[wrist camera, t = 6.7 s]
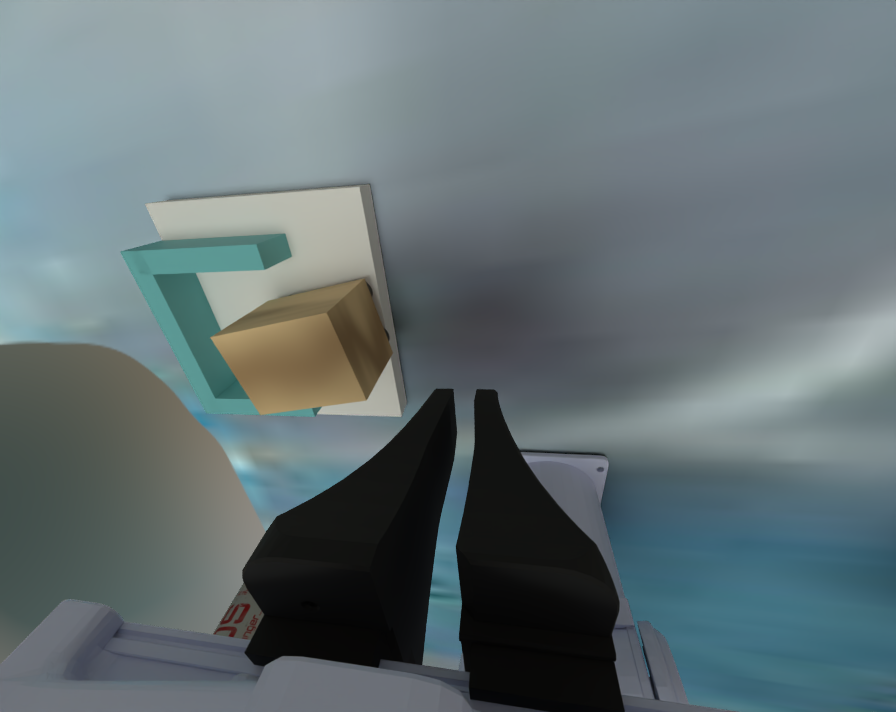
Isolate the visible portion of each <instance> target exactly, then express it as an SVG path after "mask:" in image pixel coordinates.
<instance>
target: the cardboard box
mask: <svg viewBox="0 0 896 712" xmlns="http://www.w3.org/2000/svg"><path fill="white" fill-rule="evenodd" d="M372 296H373V291H372V288H371V286H370V285H369V284H368V283H367V282H366V281H365V278H364V279H359V280H354V281H351V282H346V283H342V284H338V285H334V286H329V287H325V288H321V289H316V290H312V291H308V292H304V293H299V294H295V295H289V296H286V297H282V298H278V299H274V300H269V301H267V302H265V303H264V304H262V305H261V306H259V307H257V308H256V309H254V310H253V311H251V312H250V313H248V314H246V315H245V316H243V317H242V318H240V319H238V320H237V321H235V322H234V323H232V324H231V325H229V326H227V327H226V328H224V329H223V330H221V331H220V332H218V333H216V334H215V335H213V336H212V337H210V338H211V340H212V341H213V343H214V344H215V346H216V347H217V349H218V350H219V352H220V353H221V355H222V357H223V358H224V360H225V361H226V363H227V364H228V366H229V367H230V369H231V371H232V372H233V374H234V375H235V377H236V378H237V380H238V381H239V383H240V384H241V386H242V388H243V389H244V391H245V392H246V394H247V395H248V397H249V398H250V400H251V401H252V403H253V405H254V406H255V408H256V409H257V411H258V412H259V414H260V415H265V414H272V413H280V412H287V411H294V410H301V409H309V408H316V407H323V406H331V405H338V404H345V403H352V402H360V401H367V399H368V397H369V395H370V394H371V392H372V390H373V388H374V386H375V385H376V383H377V381H378V379H379V377H380V376H381V374H382V372H383V370H384V368H385V367H386V365H387V363H388V361H389V359H390V358H391V356H392V354H393V351H392V349H391V346H390V343H389V339H390V336H389V333H388V332H387V330H386V329H385V328H383V325H382V323H381V320H380V317H379V315H378V312H377V309H376V307H375V304H374V302H373V299H372Z"/></svg>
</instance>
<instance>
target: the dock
mask: <svg viewBox="0 0 896 712" xmlns="http://www.w3.org/2000/svg"><path fill="white" fill-rule="evenodd" d="M145 205H146V207H147V209H148V211H149V213H150V215H151V218H152V220H153V222H154V224H155V226H156V228H157V230H158V233H159V235H160V237H161V239H162V241H159V242H155V243H151V244H147V245H144V246H140V247H136V248H132V249H128V250H125V251H121V254H122V256H123V258H124V260H125V262H126V264H127V266H128V267H129V269H130V271H131V273H132V275H133V277H134V279H135V281H136V282H137V284H138V286H139V288H140V290H141V292H142V294H143V296H144V297H145V299H146V301H147V303H148V305H149V307H150V309H151V311H152V312H153V314H154V316H155V318H156V320H157V322H158V324H159V326H160V327H161V329H162V331H163V333H164V335H165V337H166V339H167V341H168V342H169V344H170V346H171V348H172V350H173V352H174V354H175V356H176V357H177V359H178V361H179V363H180V365H181V367H182V369H183V371H184V372H185V374H186V376H187V378H188V380H189V382H190V384H191V386H192V387H193V389H194V391H195V393H196V395H197V397H198V399H199V401H200V402H201V404H202V406H203V408H204V410H205V412H206V413H215V414H246V415H260V414H259V412H258V411H257V409H256V408H255V406H254V405H253V403H252V401H251V400H250V398H249V397H248V395H247V394H246V392H245V391H244V389H243V388H242V386H241V384H240V383H239V381H238V380H237V378H236V377H235V375H234V374H233V372H232V371H231V369H230V367H229V366H228V364H227V363H226V361H225V360H224V358H223V357H222V355H221V353H220V352H219V350H218V349H217V347H216V346H215V344H214V343H213V341H212V340H211V338H210V337H212V336H213V335H215V334H216V333H218V332H220V331H221V330H223V329H224V328H226V327H227V326H229V325H231V324H232V323H234V322H235V321H237V320H238V319H240V318H242V317H243V316H245V315H246V314H248V313H250V312H251V311H253V310H254V309H256V308H257V307H259V306H261V305H262V304H264V303H265V302H267V301H269V300H274V299H278V298H282V297H286V296H289V295H295V294H299V293H304V292H308V291H312V290H316V289H321V288H325V287H329V286H334V285H338V284H342V283H346V282H351V281H354V280H359V279H364V278H365V281H366V282H367V283H368V284H369V285H370V286H371V288H372V291H373V296H372V299H373V302H374V304H375V307H376V309H377V312H378V315H379V317H380V320H381V323H382V325H383V328H385V329H386V330H387V332H388V333H389V336H390V339H389V343H390V346H391V349H392V351H393V354H392V356H391V358H390V359H389V361H388V363H387V365H386V367H385V368H384V370H383V372H382V374H381V376H380V377H379V379H378V381H377V383H376V385H375V386H374V388H373V390H372V392H371V394H370V395H369V397H368V399H367V401H360V402H352V403H345V404H338V405H331V406H323V407H316V408H309V409H301V410H294V411H287V412H280V413H272V414H265V415H277V416H307V417H315V416H316V415H317V414H331V415H363V416H395V417H402V414H403V412H404V409H405V407H406V404H407V400H406V394H405V388H404V382H403V377H402V371H401V365H400V359H399V353H398V347H397V341H396V335H395V329H394V324H393V318H392V312H391V306H390V300H389V294H388V288H387V282H386V276H385V271H384V265H383V259H382V253H381V247H380V241H379V235H378V229H377V223H376V218H375V212H374V206H373V200H372V194H371V188H370V184H367V185H354V186H342V187H329V188H317V189H304V190H292V191H279V192H266V193H254V194H241V195H229V196H216V197H204V198H191V199H179V200H167V201H160V202H154V203H147V204H145Z"/></svg>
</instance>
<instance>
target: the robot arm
mask: <svg viewBox="0 0 896 712" xmlns="http://www.w3.org/2000/svg"><path fill="white" fill-rule="evenodd" d="M474 419H475V445H474V454H473V461H472V468H471V474H470V480H469V486H468V492H467V497H466V502H465V508H464V513H463V517H462V522H461V526H460V531H459V536H458V540H457V544H456V553H457V562H458V571H459V580H460V589H461V598H462V610H461V620H460V631H459V641H461V644H462V655H461V659H460V665H459V671H458V670H451V669H444V668H437V667H431V666H424V665H422V661H423V652H424V642H425V632H426V623H427V614H428V605H429V597H430V588H431V580H432V572H433V564H434V556H435V549H436V541H437V534H438V527H439V522H440V517H441V512H442V508H443V504H444V500H445V496H446V491H447V487H448V483H449V479H450V475H451V470H452V466H453V462H454V456H455V448H456V438H457V427H456V415H455V403H454V392H453V389H436V390H434V391H433V393H432V394H431V395H430V397H429V398H428V399H427V401H426V402H425V403H424V404H423V406H422V407H421V408H420V409H419V411H418V412H417V413H416V414H415V415H414V416H413V418H412V419H411V420H410V421H409V422H408V423H407V424H406V426H405V427H404V428H403V429H402V430H401V431H400V432H399V433H398V434H397V435H396V436H395V437H394V438H393V439H392V440H391V441H390V442H389V443H388V444H387V445H386V446H385V447H384V448H383V449H382V450H380V451H379V452H378V453H377V454H376V455H375V456H374V457H372V458H371V459H370V460H369V461H367V462H366V463H365V464H364V465H362V466H361V467H359V468H358V469H357V470H355V471H354V472H353V473H351V474H350V475H349V476H347V477H346V478H344V479H343V480H341V481H340V482H338V483H337V484H335V485H334V486H332V487H330V488H329V489H327V490H325V491H324V492H322V493H320V494H319V495H317V496H315V497H314V498H312V499H310V500H308V501H306V502H304V503H302V504H300V505H299V506H297V507H295V508H293V509H291V510H289V511H287V512H285V513H283V514H281V515H279V516H277V517H276V518H275V520H274V521H273V523H272V524H271V525H270V527H269V528H268V530H267V531H266V533H265V534H264V536H263V538H262V539H261V541H260V543H259V544H258V546H257V547H256V549H255V551H254V552H253V554H252V556H251V557H250V559H249V560H248V562H247V564H246V565H245V567H244V569H243V575H242V576H243V581H244V584H245V586H246V588H247V590H248V591H249V593H250V594H251V596H252V597H253V599H254V600H255V602H256V603H257V605H258V606H259V608H260V609H261V611H262V612H263V614H264V616H263V618H262V620H261V621H260V623H259V625H258V627H257V629H256V631H255V633H254V635H253V637H252V639H251V640H247V639H240V638H233V637H227V636H220V635H213V634H206V633H199V632H192V631H186V630H179V629H172V628H165V627H159V626H151V625H144V624H138V623H131V622H124V621H123V618H122V617H121V616H120V614H119V613H117V612H116V611H115V610H114V609H112V608H111V607H108V606H106V605H104V604H99V603H94V602H86V601H79V600H72V599H67V600H63V601H62V602H61V603H60V604H59V605H58V606H57V607H56V608H55V609H54V610H53V611H52V612H51V613H50V614H49V615H48V617H46V618H45V619H44V620H43V622H41V623H40V624H39V626H38V627H37V628H36V629H35V630H34V631H33V632H32V633H31V634H30V635H29V636H28V637H27V638H26V639H25V640H24V641H23V642H22V643H21V644H20V645H19V646H18V647H17V648H16V649H15V650H14V651H13V652H12V653H11V654H10V655H9V656H8V657H7V658H6V659H5V660H4V661H3V662H2V663H1V664H0V712H737V711H730V710H723V709H716V708H709V707H703V706H696V705H689V703H688V700H687V697H686V694H685V691H684V688H683V685H682V682H681V679H680V676H679V673H678V670H677V667H676V664H675V662H674V659H673V656H672V653H671V651H670V648H669V645H668V643H667V641H666V639H665V637H664V636H663V635H662V634H661V633H660V632H659V631H657V630H656V629H654V628H653V627H652V625H651V623H650V622H648V621H637V623H638V627H639V631H640V635H641V639H642V643H643V646H642V647H643V651H644V655H645V659H646V663H647V666H648V670H649V674H650V677H649V676H648V673H647V669H646V665H645V662H644V658H643V654H642V651H641V647H640V643H639V640H638V636H637V633H636V629H635V625H634V622H633V618H632V614H631V611H630V607H629V603H628V600H627V599H626V598H625V595H624V592H623V588H622V584H621V581H620V577H619V573H618V569H617V566H616V562H615V558H614V554H613V551H612V547H611V543H610V540H609V536H608V532H607V528H606V525H605V521H604V517H603V513H602V510H601V506H600V504H601V500H602V495H603V490H604V485H605V480H606V476H607V471H608V466H609V462H608V459H607V458H606V457H605V456H599V455H577V454H555V453H532V452H520V451H519V449H518V447H517V445H516V443H515V441H514V439H513V437H512V435H511V433H510V431H509V429H508V427H507V424H506V422H505V420H504V417H503V414H502V411H501V408H500V405H499V401H498V393H497V392H496V391H495V390H483V389H477V391H476V395H475V400H474ZM598 467H601V468H598Z"/></svg>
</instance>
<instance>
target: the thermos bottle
mask: <svg viewBox="0 0 896 712" xmlns="http://www.w3.org/2000/svg"><path fill="white" fill-rule="evenodd" d="M263 616H264V614H263V612H262V611H261V609H260V608H259V606H258V605H257V603H256V602H255V600H254V599H253V597H252V596H251V594H250V593H249V591H248V590H247V588H246V586H245V584H244V583H243V585H242V587H241V588H240V590H239V592H238V593H237V595H236V597H235V598H234V600H233V601H232V603H231V605H230V606H229V608H228V610H227V612H226V613H225V615H224V617H223V618H222V620H221V621H220V623H219V625H218V626H217V628H216V630H215V631H214V633H213V635H220V636H227V637H233V638H240V639H247V640H251V639H252V637H253V635H254V633H255V631H256V629H257V627H258V625H259V623H260V621H261V620H262V618H263Z"/></svg>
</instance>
